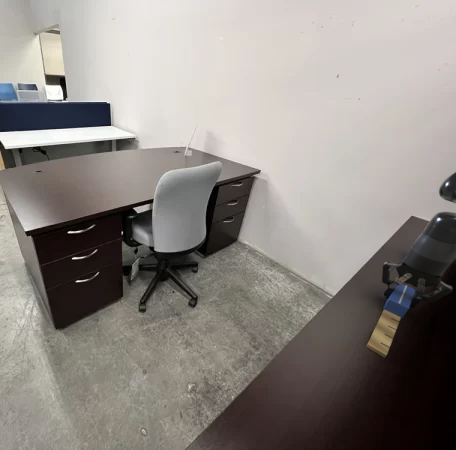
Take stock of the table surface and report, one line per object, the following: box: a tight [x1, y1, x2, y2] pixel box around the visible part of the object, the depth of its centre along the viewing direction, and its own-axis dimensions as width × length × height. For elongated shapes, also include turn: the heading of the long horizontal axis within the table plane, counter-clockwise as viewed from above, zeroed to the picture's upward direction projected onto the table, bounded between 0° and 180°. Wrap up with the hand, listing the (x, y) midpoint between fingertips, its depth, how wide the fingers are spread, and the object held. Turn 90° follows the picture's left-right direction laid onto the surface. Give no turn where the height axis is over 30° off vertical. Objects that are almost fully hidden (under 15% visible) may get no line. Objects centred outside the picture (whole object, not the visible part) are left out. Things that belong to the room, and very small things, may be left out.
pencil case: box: [383, 283, 416, 319], centre depth 68 cm, size 12×4×4 cm, turn 129°
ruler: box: [365, 309, 402, 359], centre depth 61 cm, size 18×4×1 cm, turn 129°
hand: (397, 301), depth 69 cm, fingers closed on pencil case, 4 cm apart
